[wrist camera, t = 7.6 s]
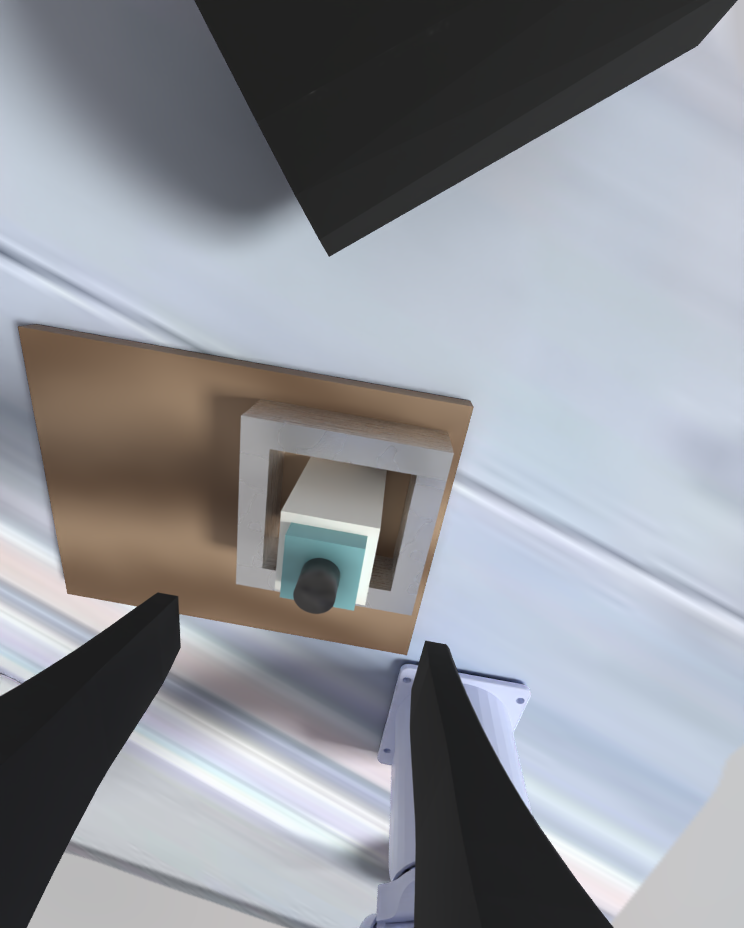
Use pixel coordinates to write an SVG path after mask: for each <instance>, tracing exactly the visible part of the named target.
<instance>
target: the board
mask: <svg viewBox="0 0 744 928" xmlns="http://www.w3.org/2000/svg"><path fill="white" fill-rule="evenodd" d="M18 330H19V335H20V341H21V346H22V352H23V357H24V362H25V368H26V373H27V379H28V384H29V389H30V395H31V400H32V405H33V411H34V416H35V422H36V427H37V432H38V438H39V443H40V449H41V454H42V459H43V465H44V470H45V476H46V481H47V486H48V492H49V497H50V503H51V508H52V513H53V519H54V524H55V529H56V535H57V540H58V546H59V551H60V556H61V562H62V567H63V573H64V578H65V583H66V589H67V594H72V595H77V596H83V597H89V598H94V599H100V600H105V601H111V602H116V603H122V604H127V605H133V606H139V605H140V604H142V603H143V602H144V601H146V600H147V599H149V598H150V597H151V596H153V595H154V594H156V593H157V592H159V593H164V594H170V595H175V596H178V600H179V614H182V615H188V616H193V617H199V618H204V619H210V620H215V621H221V622H227V623H232V624H238V625H243V626H249V627H254V628H260V629H265V630H271V631H276V632H282V633H287V634H293V635H298V636H304V637H309V638H315V639H320V640H326V641H331V642H337V643H342V644H348V645H354V646H359V647H365V648H370V649H376V650H381V651H387V652H392V653H398V654H403V655H407V652H408V649H409V645H410V641H411V638H412V634H413V630H414V626H415V623H416V619H417V615H418V612H419V608H420V604H421V600H422V597H423V593H424V589H425V586H426V582H427V578H428V574H429V571H430V567H431V563H432V560H433V556H434V552H435V548H436V545H437V541H438V537H439V534H440V530H441V526H442V522H443V519H444V515H445V511H446V508H447V504H448V500H449V496H450V493H451V489H452V485H453V482H454V478H455V474H456V470H457V467H458V463H459V459H460V456H461V452H462V448H463V444H464V441H465V437H466V433H467V430H468V426H469V422H470V418H471V415H472V411H473V405H472V403H471V401H469V400H463V399H457V398H452V397H446V396H440V395H435V394H429V393H423V392H418V391H412V390H406V389H401V388H395V387H389V386H384V385H378V384H372V383H367V382H361V381H355V380H350V379H344V378H338V377H333V376H327V375H321V374H316V373H310V372H304V371H299V370H293V369H287V368H282V367H276V366H270V365H265V364H259V363H253V362H248V361H242V360H236V359H231V358H225V357H219V356H214V355H208V354H202V353H197V352H191V351H185V350H180V349H174V348H168V347H163V346H157V345H151V344H146V343H140V342H134V341H129V340H123V339H117V338H112V337H106V336H100V335H95V334H89V333H83V332H78V331H72V330H66V329H61V328H55V327H49V326H44V325H38V324H34V325H26V326H18ZM261 399H266V400H271V401H277V402H282V403H288V404H294V405H299V406H305V407H311V408H316V409H322V410H328V411H333V412H339V413H345V414H350V415H356V416H361V417H367V418H373V419H378V420H384V421H390V422H395V423H401V424H407V425H412V426H418V427H424V428H429V429H435V430H441V431H446V432H448V433H449V437H450V440H451V444H452V448H453V452H454V455H453V459H452V463H451V466H450V470H449V474H448V478H447V482H446V486H445V489H444V493H443V497H442V501H441V505H440V509H439V512H438V516H437V520H436V524H435V528H434V531H433V535H432V539H431V543H430V547H429V551H428V554H427V558H426V562H425V566H424V570H423V574H422V577H421V581H420V585H419V589H418V593H417V596H416V600H415V604H414V608H413V612H412V616H410V615H405V614H399V613H394V612H388V611H383V610H377V609H372V608H366V607H360V606H355V608H354V611H352V610H347V609H341V608H336V607H332V608H331V609H330V610H329V611H327V612H325V613H321V614H312V613H308V612H306V611H304V610H302V609H301V608H299V607H298V606H297V604H296V603H295V601H294V600H292V599H287V598H281V597H280V592H277V591H272V590H266V589H261V588H255V587H250V586H244V585H239V584H236V567H237V533H238V500H239V466H240V432H241V415H242V414H243V413H245V412H246V411H247V410H248V409H250V408H251V407H252V406H253V405H255V404H256V403H257V402H258V401H259V400H261ZM310 457H312V456H306V455H300V454H295V453H289V452H284V464H283V477H282V489H281V502H280V515H279V528H278V538H279V531H280V518H281V510H282V508H283V507H284V505H285V503H286V501H287V499H288V497H289V496H290V494H291V492H292V490H293V488H294V487H295V485H296V483H297V481H298V479H299V477H300V476H301V474H302V472H303V470H304V468H305V467H306V465H307V463H308V461H309V459H310ZM315 458H317V457H315ZM320 459H323V458H320ZM326 460H329V459H326ZM331 461H334V460H331ZM337 462H340V461H337ZM342 463H345V462H342ZM348 464H351V463H348ZM354 465H357V464H354ZM359 466H362V465H359ZM365 467H368V466H365ZM370 468H373V467H370ZM376 469H379V468H376ZM381 470H385V469H381ZM410 477H411V474H407V473H402V472H396V471H390V470H387V473H386V482H385V491H384V501H383V510H382V519H381V528H380V533H379V538H378V543H377V548H376V553H375V555H377V556H383V557H388V558H393V554H394V550H395V545H396V541H397V536H398V531H399V527H400V522H401V518H402V513H403V509H404V504H405V500H406V495H407V491H408V486H409V481H410Z"/></svg>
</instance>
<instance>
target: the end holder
mask: <svg viewBox="0 0 744 928" xmlns="http://www.w3.org/2000/svg"><path fill="white" fill-rule="evenodd" d="M284 452H289V453H295V454H300V455H306V456H312V457H317V458H323V459H329V460H334V461H340V462H345V463H351V464H357V465H362V466H368V467H373V468H379V469H385V470H390V471H396V472H402V473H407V474H411V477H410V481H409V486H408V491H407V495H406V500H405V504H404V509H403V513H402V518H401V522H400V527H399V531H398V536H397V541H396V545H395V550H394V554H393V558H388V557H383V556H377V555H375V558H374V563H373V568H372V573H371V578H370V583H369V588H368V593H367V598H366V603H365V605H359V604H355V606H360V607H366V608H372V609H377V610H383V611H388V612H394V613H399V614H405V615H410V616H412V612H413V608H414V604H415V600H416V596H417V593H418V589H419V585H420V581H421V577H422V574H423V570H424V566H425V562H426V558H427V554H428V551H429V547H430V543H431V539H432V535H433V531H434V528H435V524H436V520H437V516H438V512H439V509H440V505H441V501H442V497H443V493H444V489H445V486H446V482H447V478H448V474H449V470H450V466H451V463H452V459H453V455H454V452H453V448H452V444H451V440H450V437H449V433H448V432H446V431H441V430H435V429H429V428H424V427H418V426H412V425H407V424H401V423H395V422H390V421H384V420H378V419H373V418H367V417H361V416H356V415H350V414H345V413H339V412H333V411H328V410H322V409H316V408H311V407H305V406H299V405H294V404H288V403H282V402H277V401H271V400H266V399H261V400H259V401H258V402H257V403H256V404H255V405H253V406H252V407H251V408H250V409H248V410H247V411H246V412H245V413H243V414H242V415H241V432H240V466H239V500H238V533H237V567H236V584H239V585H244V586H250V587H255V588H261V589H266V590H272V591H277V592H280V590H277V589H275V580H276V567H277V555H278V543H279V538H278V528H279V515H280V502H281V489H282V477H283V464H284Z"/></svg>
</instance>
